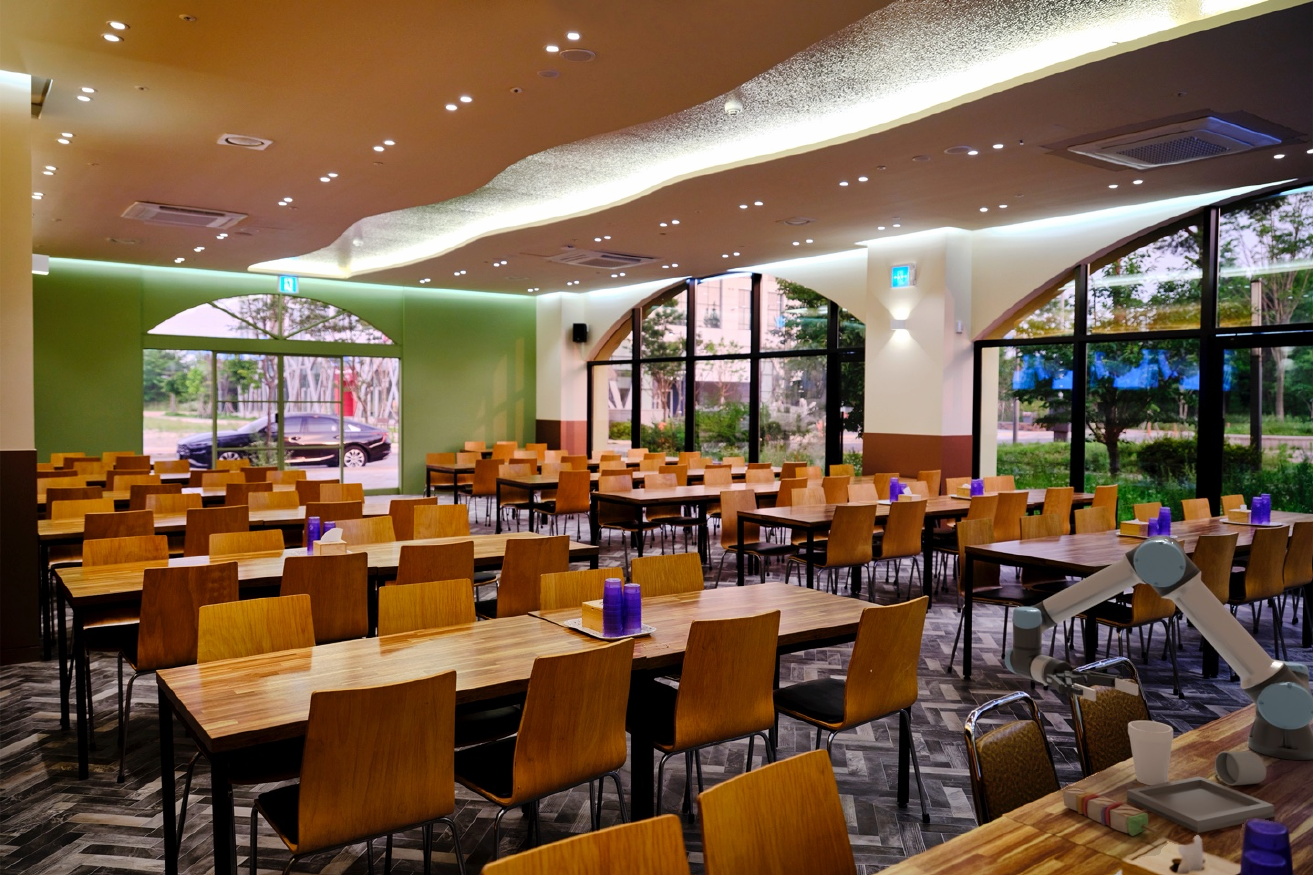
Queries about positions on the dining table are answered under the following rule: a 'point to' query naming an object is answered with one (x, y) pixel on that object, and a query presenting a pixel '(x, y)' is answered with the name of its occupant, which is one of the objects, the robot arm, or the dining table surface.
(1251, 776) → the ceramic mug
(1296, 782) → the dining table surface
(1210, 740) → the dining table surface
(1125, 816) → the skewer
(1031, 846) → the dining table surface
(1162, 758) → the foam cup
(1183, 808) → the cafeteria tray
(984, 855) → the dining table surface
